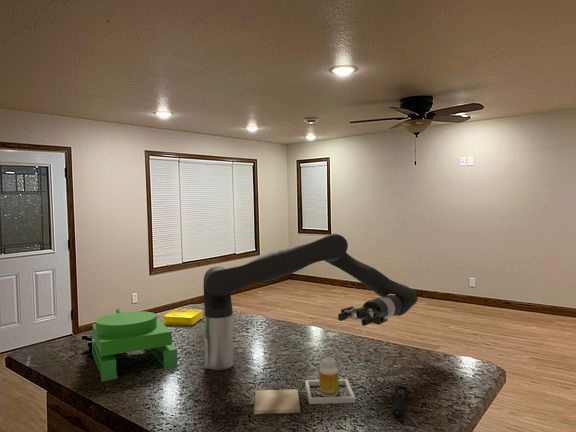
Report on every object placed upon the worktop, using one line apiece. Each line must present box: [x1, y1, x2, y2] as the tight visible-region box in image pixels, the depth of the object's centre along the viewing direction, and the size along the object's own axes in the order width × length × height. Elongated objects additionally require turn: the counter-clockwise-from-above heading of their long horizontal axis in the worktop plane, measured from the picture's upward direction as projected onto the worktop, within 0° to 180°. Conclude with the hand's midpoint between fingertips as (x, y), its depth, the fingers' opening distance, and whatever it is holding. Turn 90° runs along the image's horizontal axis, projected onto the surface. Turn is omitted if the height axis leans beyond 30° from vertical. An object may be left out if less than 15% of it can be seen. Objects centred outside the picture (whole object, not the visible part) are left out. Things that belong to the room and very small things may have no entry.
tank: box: [91, 308, 179, 382], centre depth 155 cm, size 24×35×16 cm
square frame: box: [304, 378, 356, 405], centre depth 124 cm, size 13×13×1 cm
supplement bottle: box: [319, 357, 340, 397], centre depth 124 cm, size 5×5×10 cm
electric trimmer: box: [391, 385, 410, 416], centre depth 116 cm, size 4×16×3 cm, turn 160°
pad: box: [253, 388, 301, 415], centre depth 118 cm, size 12×12×1 cm
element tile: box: [162, 308, 204, 326], centre depth 205 cm, size 15×15×5 cm
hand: (350, 319), depth 132 cm, fingers open, 8 cm apart
